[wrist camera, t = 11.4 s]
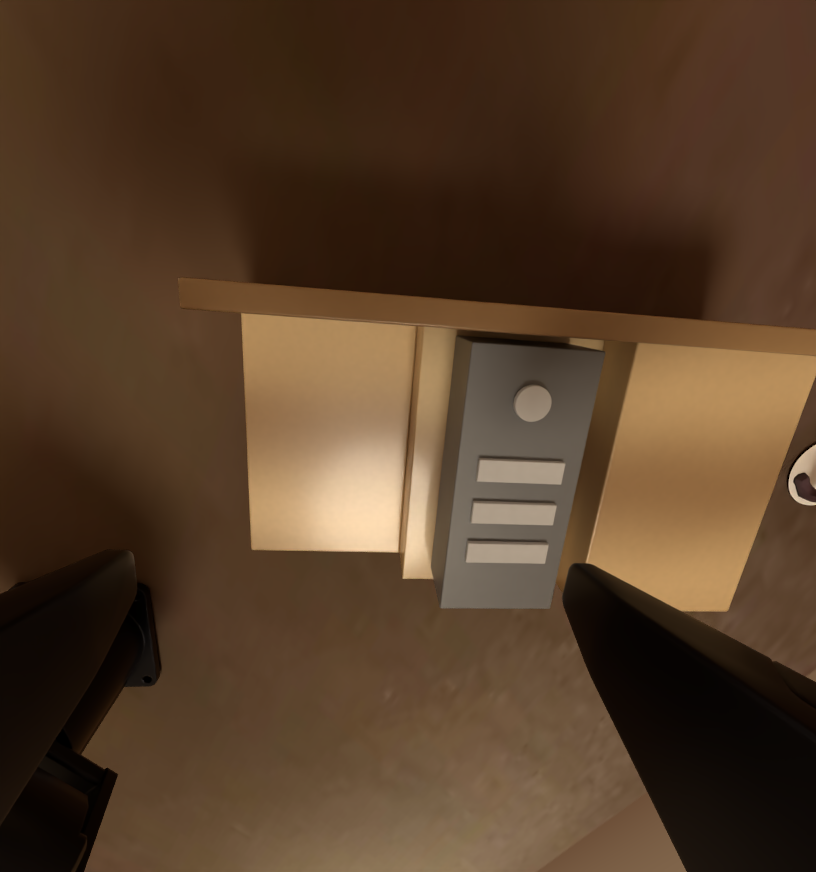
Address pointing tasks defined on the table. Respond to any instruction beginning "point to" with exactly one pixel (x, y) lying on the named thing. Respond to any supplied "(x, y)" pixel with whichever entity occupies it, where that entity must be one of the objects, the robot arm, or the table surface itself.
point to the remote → (510, 469)
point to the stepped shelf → (427, 416)
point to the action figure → (804, 478)
